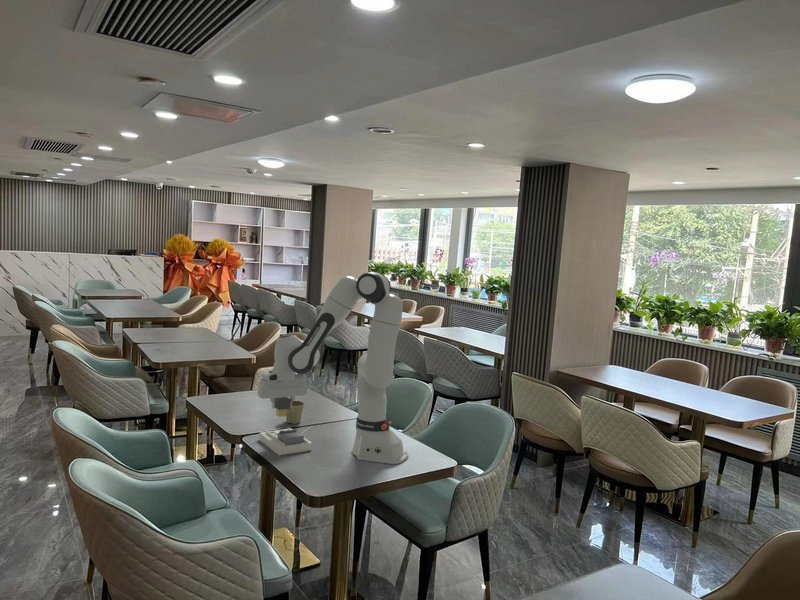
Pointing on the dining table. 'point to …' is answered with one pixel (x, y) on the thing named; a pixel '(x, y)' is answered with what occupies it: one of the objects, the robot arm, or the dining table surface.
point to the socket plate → (279, 447)
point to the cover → (290, 436)
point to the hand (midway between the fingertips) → (281, 407)
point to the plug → (282, 405)
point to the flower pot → (295, 412)
